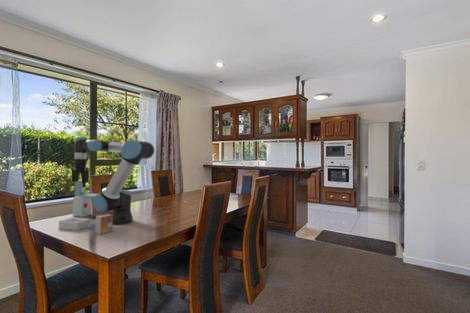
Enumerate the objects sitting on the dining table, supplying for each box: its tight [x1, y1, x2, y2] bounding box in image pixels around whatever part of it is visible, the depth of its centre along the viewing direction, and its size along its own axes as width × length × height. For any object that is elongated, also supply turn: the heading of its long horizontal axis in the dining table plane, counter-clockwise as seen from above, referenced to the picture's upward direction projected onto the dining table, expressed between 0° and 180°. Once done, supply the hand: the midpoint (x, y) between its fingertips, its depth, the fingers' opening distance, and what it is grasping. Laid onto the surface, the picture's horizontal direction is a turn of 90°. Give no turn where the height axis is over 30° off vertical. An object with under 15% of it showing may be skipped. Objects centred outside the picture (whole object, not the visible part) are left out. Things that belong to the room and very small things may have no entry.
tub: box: [58, 216, 91, 232], centre depth 158 cm, size 14×10×5 cm
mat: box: [89, 218, 96, 226], centre depth 172 cm, size 16×12×1 cm
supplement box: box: [72, 196, 93, 218], centre depth 190 cm, size 9×9×15 cm
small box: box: [94, 213, 114, 235], centre depth 151 cm, size 8×6×10 cm
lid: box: [74, 180, 99, 199], centre depth 171 cm, size 19×11×11 cm, turn 80°
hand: (79, 191), depth 172 cm, fingers closed on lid, 4 cm apart
